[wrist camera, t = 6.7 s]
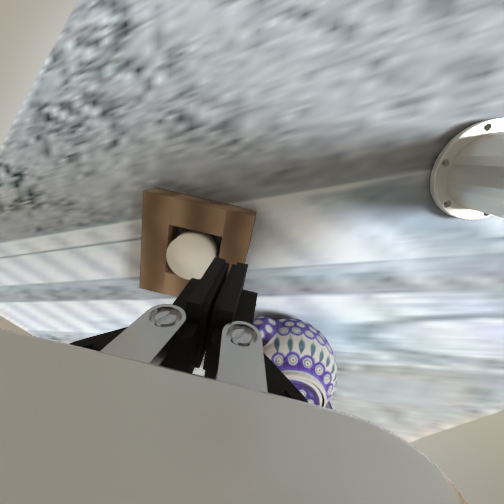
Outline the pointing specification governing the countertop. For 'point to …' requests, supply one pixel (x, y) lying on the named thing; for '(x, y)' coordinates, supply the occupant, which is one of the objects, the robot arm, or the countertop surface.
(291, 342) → the teapot
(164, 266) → the housing
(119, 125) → the countertop surface
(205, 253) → the button
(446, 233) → the countertop surface
